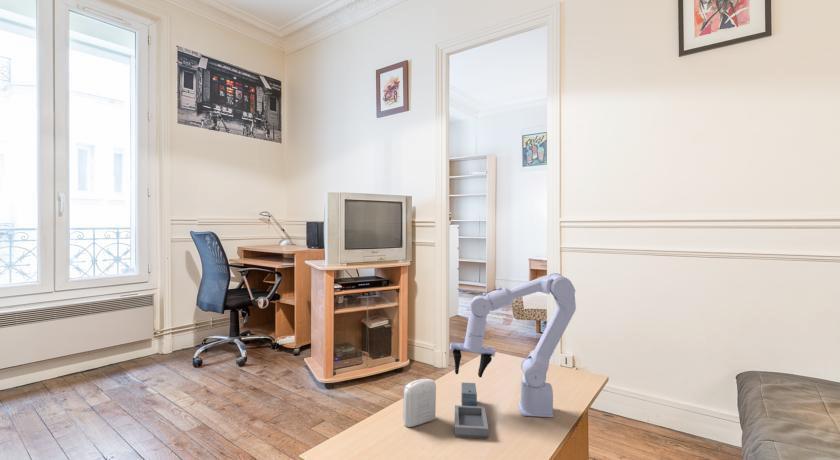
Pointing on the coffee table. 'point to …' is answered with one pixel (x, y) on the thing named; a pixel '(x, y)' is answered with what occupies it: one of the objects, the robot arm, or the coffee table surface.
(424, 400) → the photo printer
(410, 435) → the coffee table surface
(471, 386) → the block
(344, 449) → the coffee table surface
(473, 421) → the lock cradle
